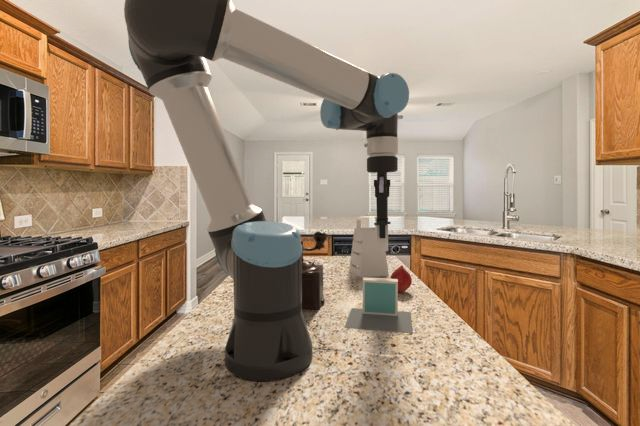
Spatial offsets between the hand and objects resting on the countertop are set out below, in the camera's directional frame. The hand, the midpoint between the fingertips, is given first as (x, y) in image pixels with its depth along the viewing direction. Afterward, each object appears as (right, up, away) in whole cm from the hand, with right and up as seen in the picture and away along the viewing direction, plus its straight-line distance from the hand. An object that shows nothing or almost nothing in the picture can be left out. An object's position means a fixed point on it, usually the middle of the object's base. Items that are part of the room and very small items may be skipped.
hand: (382, 250), depth 85 cm
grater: (+1, -12, +35) cm, 37 cm away
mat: (-3, -15, -9) cm, 18 cm away
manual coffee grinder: (-20, -14, +5) cm, 25 cm away
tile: (-2, -14, -6) cm, 15 cm away
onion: (+7, -14, +11) cm, 19 cm away
